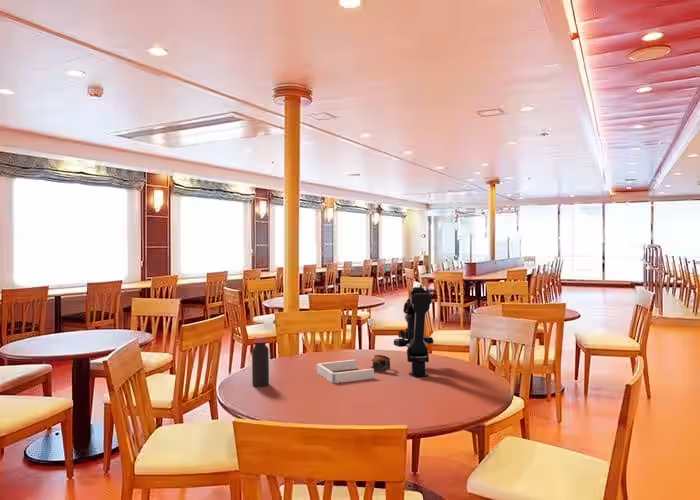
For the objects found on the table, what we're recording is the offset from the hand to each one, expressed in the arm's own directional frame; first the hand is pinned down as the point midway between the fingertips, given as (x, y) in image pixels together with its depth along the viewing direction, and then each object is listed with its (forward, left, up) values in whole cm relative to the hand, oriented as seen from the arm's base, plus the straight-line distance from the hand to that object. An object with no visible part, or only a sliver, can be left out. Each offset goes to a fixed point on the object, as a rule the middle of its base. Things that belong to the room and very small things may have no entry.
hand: (413, 359), depth 235 cm
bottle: (+1, +73, -4) cm, 73 cm away
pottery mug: (0, +17, -4) cm, 17 cm away
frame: (0, +35, -4) cm, 36 cm away
